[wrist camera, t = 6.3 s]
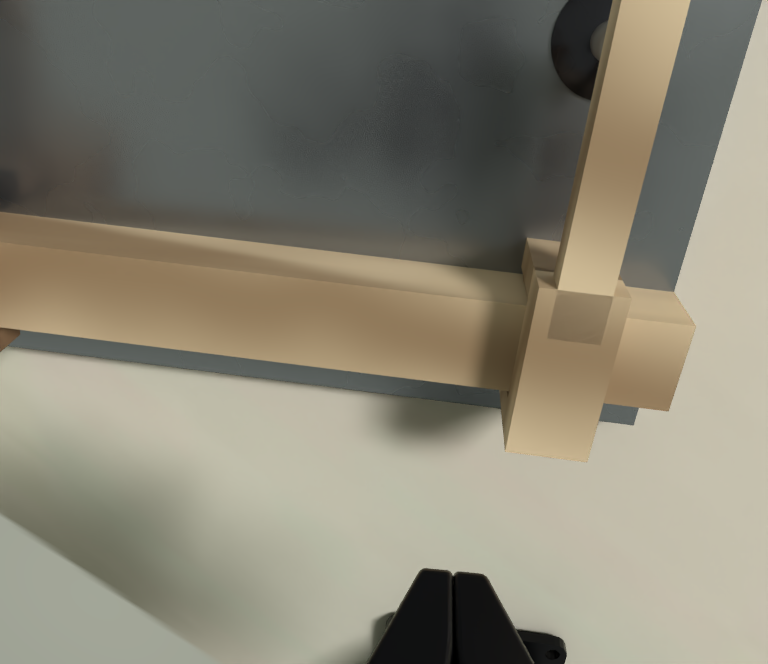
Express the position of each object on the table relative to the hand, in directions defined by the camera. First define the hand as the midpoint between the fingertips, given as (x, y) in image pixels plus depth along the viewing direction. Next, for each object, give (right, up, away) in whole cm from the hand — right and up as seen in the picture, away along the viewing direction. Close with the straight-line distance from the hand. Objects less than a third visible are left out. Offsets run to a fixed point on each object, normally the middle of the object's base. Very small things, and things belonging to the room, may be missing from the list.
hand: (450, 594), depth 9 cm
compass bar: (-4, +7, +9) cm, 12 cm away
